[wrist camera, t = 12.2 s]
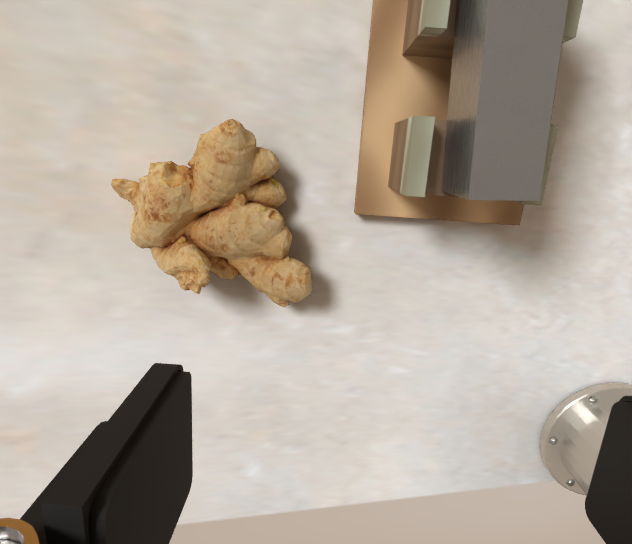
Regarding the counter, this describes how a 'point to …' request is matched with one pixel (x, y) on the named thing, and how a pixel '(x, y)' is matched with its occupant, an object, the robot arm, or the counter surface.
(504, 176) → the bracket bar
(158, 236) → the ginger root
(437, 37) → the post rig
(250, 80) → the counter surface
